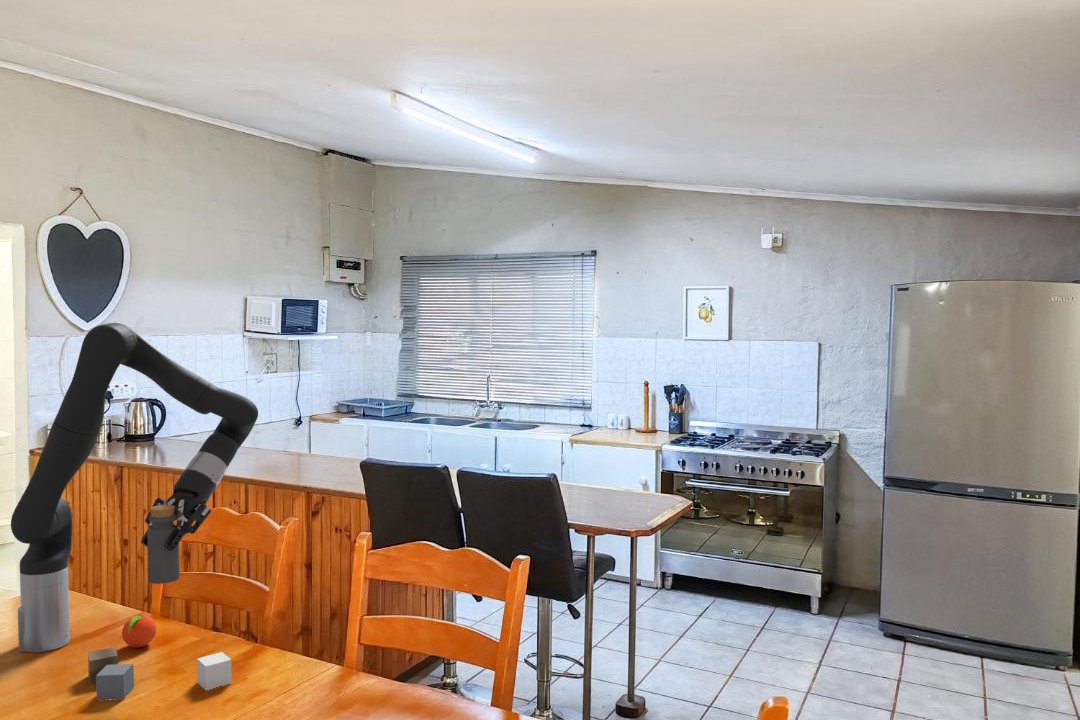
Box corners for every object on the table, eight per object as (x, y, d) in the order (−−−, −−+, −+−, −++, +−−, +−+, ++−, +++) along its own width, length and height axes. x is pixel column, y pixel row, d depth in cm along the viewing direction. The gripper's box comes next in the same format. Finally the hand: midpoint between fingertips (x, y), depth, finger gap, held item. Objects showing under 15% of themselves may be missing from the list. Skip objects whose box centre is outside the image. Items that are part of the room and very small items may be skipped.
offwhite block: (206, 691, 162) (205, 666, 162) (197, 682, 166) (197, 658, 165) (231, 684, 165) (231, 659, 165) (222, 675, 169) (222, 651, 169)
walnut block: (90, 685, 164) (89, 660, 164) (88, 676, 169) (88, 652, 168) (118, 679, 167) (117, 655, 167) (115, 670, 171) (115, 647, 171)
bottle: (167, 585, 165) (166, 511, 164) (142, 583, 166) (140, 509, 165) (185, 576, 171) (184, 504, 170) (160, 574, 172) (159, 503, 171)
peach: (144, 654, 179) (144, 622, 179) (113, 654, 179) (112, 622, 179) (162, 640, 187) (161, 609, 187) (132, 640, 187) (131, 609, 187)
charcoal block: (96, 701, 158) (96, 675, 157) (107, 689, 163) (106, 664, 162) (124, 700, 158) (123, 674, 158) (133, 688, 163) (133, 663, 163)
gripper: (165, 465, 177) (119, 533, 167) (216, 470, 171) (171, 541, 161) (185, 485, 182) (141, 552, 172) (235, 490, 176) (193, 560, 166)
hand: (156, 546), depth 167 cm, fingers closed on bottle, 5 cm apart
